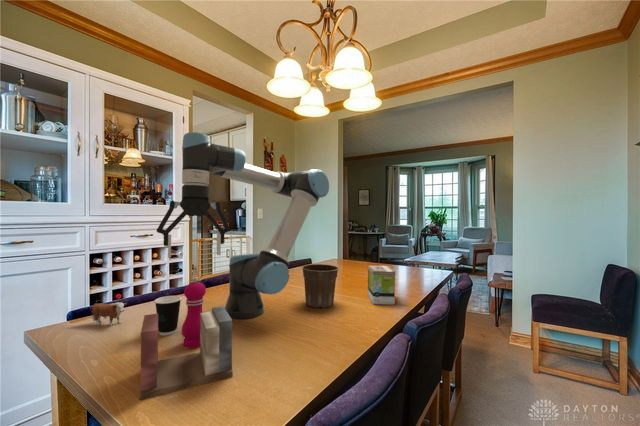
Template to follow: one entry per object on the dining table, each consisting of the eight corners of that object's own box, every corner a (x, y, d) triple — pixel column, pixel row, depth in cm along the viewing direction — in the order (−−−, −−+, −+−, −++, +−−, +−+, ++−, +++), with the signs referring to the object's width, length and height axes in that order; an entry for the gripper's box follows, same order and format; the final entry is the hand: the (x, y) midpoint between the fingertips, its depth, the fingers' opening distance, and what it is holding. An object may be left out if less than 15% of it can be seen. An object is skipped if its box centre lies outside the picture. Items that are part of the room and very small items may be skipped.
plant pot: (345, 302, 129) (345, 266, 129) (326, 312, 115) (326, 272, 115) (314, 296, 138) (315, 262, 138) (294, 305, 124) (294, 267, 124)
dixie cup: (152, 339, 90) (152, 303, 90) (155, 329, 97) (155, 297, 97) (180, 335, 93) (181, 301, 93) (181, 326, 100) (182, 294, 100)
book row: (222, 351, 82) (222, 303, 82) (232, 376, 70) (233, 319, 70) (144, 368, 73) (144, 313, 73) (139, 399, 61) (140, 334, 61)
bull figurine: (120, 328, 98) (120, 304, 98) (87, 325, 101) (87, 301, 101) (131, 323, 102) (131, 300, 102) (99, 320, 105) (99, 298, 105)
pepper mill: (186, 339, 90) (187, 274, 90) (210, 338, 91) (211, 274, 91) (177, 349, 83) (177, 280, 83) (203, 349, 83) (203, 279, 84)
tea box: (395, 305, 126) (395, 271, 126) (372, 304, 126) (372, 270, 126) (387, 295, 141) (388, 265, 141) (367, 295, 141) (367, 264, 141)
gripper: (146, 181, 78) (145, 260, 78) (240, 186, 89) (239, 255, 89) (148, 184, 84) (147, 256, 84) (235, 188, 96) (234, 252, 96)
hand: (194, 256), depth 87 cm, fingers open, 13 cm apart
